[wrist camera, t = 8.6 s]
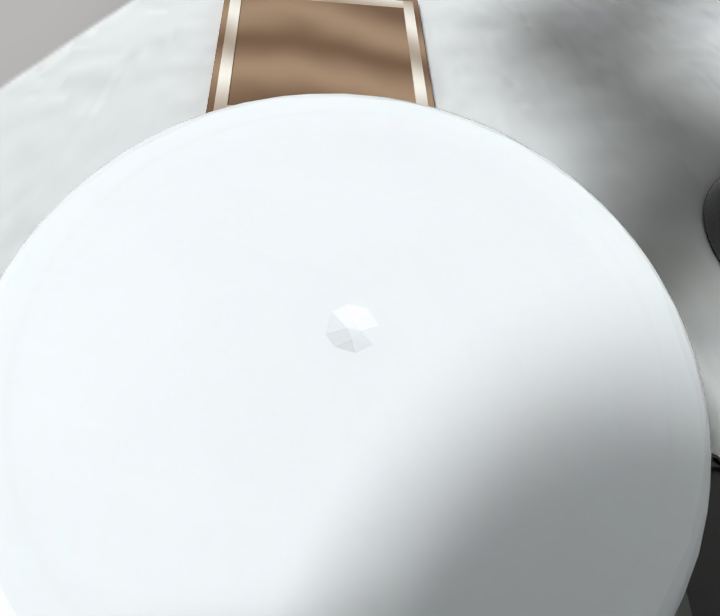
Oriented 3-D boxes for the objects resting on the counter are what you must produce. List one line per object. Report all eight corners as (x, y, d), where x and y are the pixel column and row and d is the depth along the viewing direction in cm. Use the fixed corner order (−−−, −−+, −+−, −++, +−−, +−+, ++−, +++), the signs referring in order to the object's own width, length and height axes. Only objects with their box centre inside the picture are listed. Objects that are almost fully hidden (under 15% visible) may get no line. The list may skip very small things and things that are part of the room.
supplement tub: (486, 450, 21) (784, 232, 8) (385, 710, 16) (683, 1222, 3) (284, 343, 22) (250, 10, 9) (142, 554, 18) (-309, 486, 5)
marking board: (434, 143, 34) (438, 130, 33) (207, 131, 32) (204, 117, 31) (414, 12, 41) (417, -2, 40) (228, -3, 39) (226, -18, 38)
